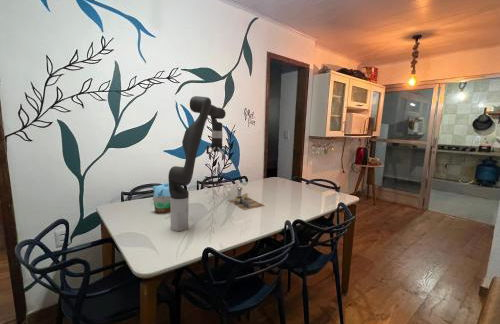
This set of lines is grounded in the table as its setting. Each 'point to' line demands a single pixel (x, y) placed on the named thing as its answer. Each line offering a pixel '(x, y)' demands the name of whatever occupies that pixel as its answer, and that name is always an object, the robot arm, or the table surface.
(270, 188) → the table surface
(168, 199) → the food container
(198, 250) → the table surface
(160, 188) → the light blue lumpy mass
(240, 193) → the hinge pin
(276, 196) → the table surface
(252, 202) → the mounting board
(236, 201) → the hinge
